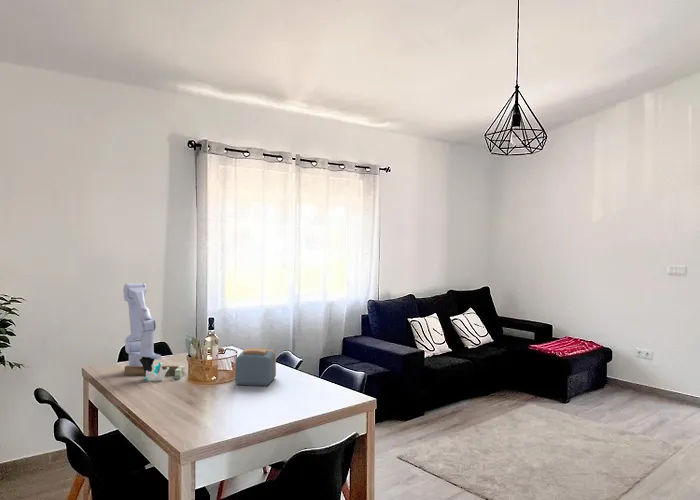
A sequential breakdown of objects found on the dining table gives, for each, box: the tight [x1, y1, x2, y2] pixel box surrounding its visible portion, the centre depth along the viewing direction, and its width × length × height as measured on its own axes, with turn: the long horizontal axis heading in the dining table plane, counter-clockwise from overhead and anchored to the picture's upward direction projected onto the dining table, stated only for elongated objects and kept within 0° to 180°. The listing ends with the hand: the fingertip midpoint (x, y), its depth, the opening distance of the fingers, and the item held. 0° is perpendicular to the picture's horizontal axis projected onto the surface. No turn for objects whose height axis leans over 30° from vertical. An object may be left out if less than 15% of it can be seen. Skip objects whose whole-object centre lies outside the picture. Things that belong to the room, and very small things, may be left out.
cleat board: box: [124, 365, 186, 380], centre depth 260 cm, size 10×28×4 cm, turn 94°
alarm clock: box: [234, 347, 277, 387], centre depth 253 cm, size 16×16×16 cm
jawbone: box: [144, 361, 169, 381], centre depth 255 cm, size 12×8×9 cm, turn 42°
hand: (147, 372), depth 257 cm, fingers closed
